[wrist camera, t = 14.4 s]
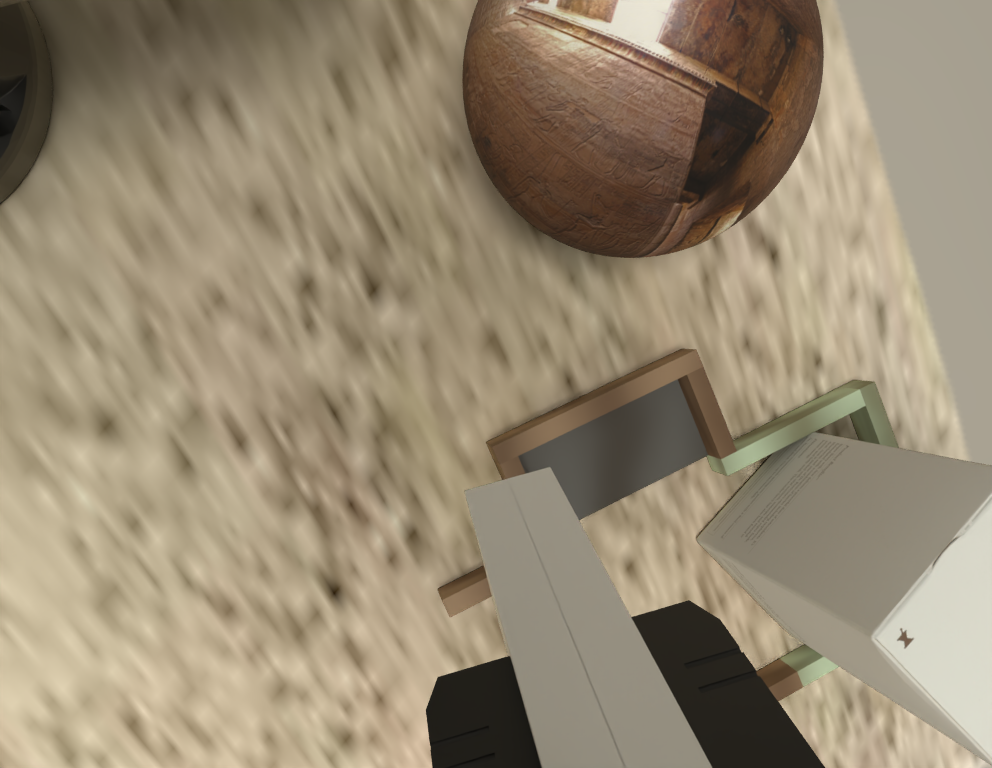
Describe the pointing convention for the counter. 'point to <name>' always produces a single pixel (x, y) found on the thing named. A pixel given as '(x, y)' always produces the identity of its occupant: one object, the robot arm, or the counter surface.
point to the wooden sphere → (640, 113)
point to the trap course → (664, 457)
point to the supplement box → (875, 570)
